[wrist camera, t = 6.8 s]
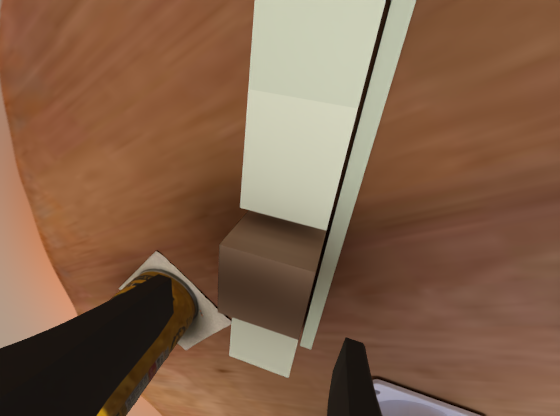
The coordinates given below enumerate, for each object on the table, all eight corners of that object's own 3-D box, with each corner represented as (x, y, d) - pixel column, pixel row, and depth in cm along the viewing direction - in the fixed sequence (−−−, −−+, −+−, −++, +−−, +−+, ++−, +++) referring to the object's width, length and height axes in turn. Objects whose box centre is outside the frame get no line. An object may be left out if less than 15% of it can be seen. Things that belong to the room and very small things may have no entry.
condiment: (157, 249, 21) (-42, 417, 11) (233, 321, 22) (119, 534, 12) (120, 286, 25) (-56, 439, 14) (188, 347, 26) (69, 528, 16)
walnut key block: (318, 260, 17) (298, 340, 12) (260, 244, 18) (217, 312, 13) (332, 205, 15) (315, 272, 10) (266, 189, 16) (219, 244, 11)
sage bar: (314, 330, 20) (303, 383, 17) (251, 309, 21) (229, 355, 18) (424, -40, 10) (453, -97, 7) (295, -49, 11) (262, -105, 8)
